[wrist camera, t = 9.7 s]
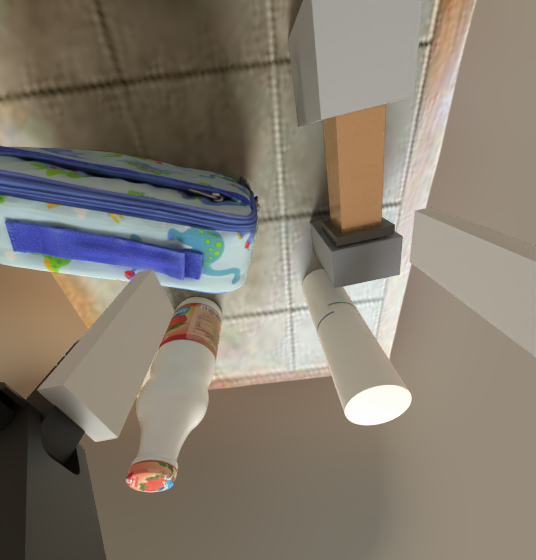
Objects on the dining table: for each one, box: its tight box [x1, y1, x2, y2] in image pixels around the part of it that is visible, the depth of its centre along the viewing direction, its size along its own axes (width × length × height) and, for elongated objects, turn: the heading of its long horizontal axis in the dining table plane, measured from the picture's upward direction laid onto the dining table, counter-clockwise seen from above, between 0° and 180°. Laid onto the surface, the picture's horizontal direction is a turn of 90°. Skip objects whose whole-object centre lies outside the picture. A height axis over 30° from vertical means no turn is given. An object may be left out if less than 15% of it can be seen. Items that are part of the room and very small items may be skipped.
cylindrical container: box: [302, 269, 411, 425], centre depth 36 cm, size 7×7×25 cm
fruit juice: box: [126, 297, 222, 492], centre depth 37 cm, size 9×9×28 cm
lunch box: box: [0, 146, 260, 294], centre depth 28 cm, size 26×11×21 cm, turn 78°
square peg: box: [321, 104, 395, 246], centre depth 30 cm, size 21×7×7 cm, turn 12°
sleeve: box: [288, 0, 423, 127], centre depth 26 cm, size 9×9×13 cm
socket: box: [310, 218, 403, 288], centre depth 36 cm, size 6×9×13 cm, turn 102°
